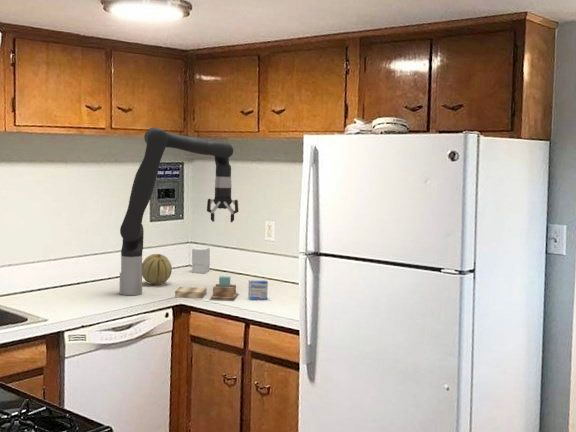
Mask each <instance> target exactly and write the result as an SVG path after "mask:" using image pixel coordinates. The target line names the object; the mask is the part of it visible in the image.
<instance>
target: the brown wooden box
mask: <svg viewBox="0 0 576 432" xmlns="http://www.w3.org/2000/svg"><path fill="white" fill-rule="evenodd" d="M238 294H239V293H238V292H237V284H232V283H230V287H219V283H215V286H212V295H211V296H210V298H211V299H216V300H234V299H235V298H236V296H237V295H238ZM238 296H239V295H238ZM236 299H237V298H236ZM236 299H235V300H236Z"/></svg>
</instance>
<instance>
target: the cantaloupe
mask: <svg viewBox="0 0 576 432" xmlns="http://www.w3.org/2000/svg"><path fill="white" fill-rule="evenodd" d="M172 269H173V268H172V263H171V261H170V260H169V258H168V257H167V256H166V255H164V254H161V253H154V254H150V255H148V256H146V257H145V259H144V260H142V279H144V280H145V282H146V283H148V284H151V285H153V286H154V285H161V284H165V283H166V282H167V281H168V280H169V279H170V277H171V275H172V271H173V270H172Z"/></svg>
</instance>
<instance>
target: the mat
mask: <svg viewBox="0 0 576 432" xmlns="http://www.w3.org/2000/svg"><path fill="white" fill-rule="evenodd" d="M239 295H240V293H238V295H237V296H236V298H235V299H234V300H216V299H211V297H210V298H209V300H208V301H214V302H235V301H236V299H237V298H238V296H239Z"/></svg>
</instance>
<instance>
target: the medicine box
mask: <svg viewBox="0 0 576 432" xmlns="http://www.w3.org/2000/svg"><path fill="white" fill-rule="evenodd" d="M268 284H269V282H268V280H267V279H248V300H249V301H267V300H268V290H269V289H268Z"/></svg>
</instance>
